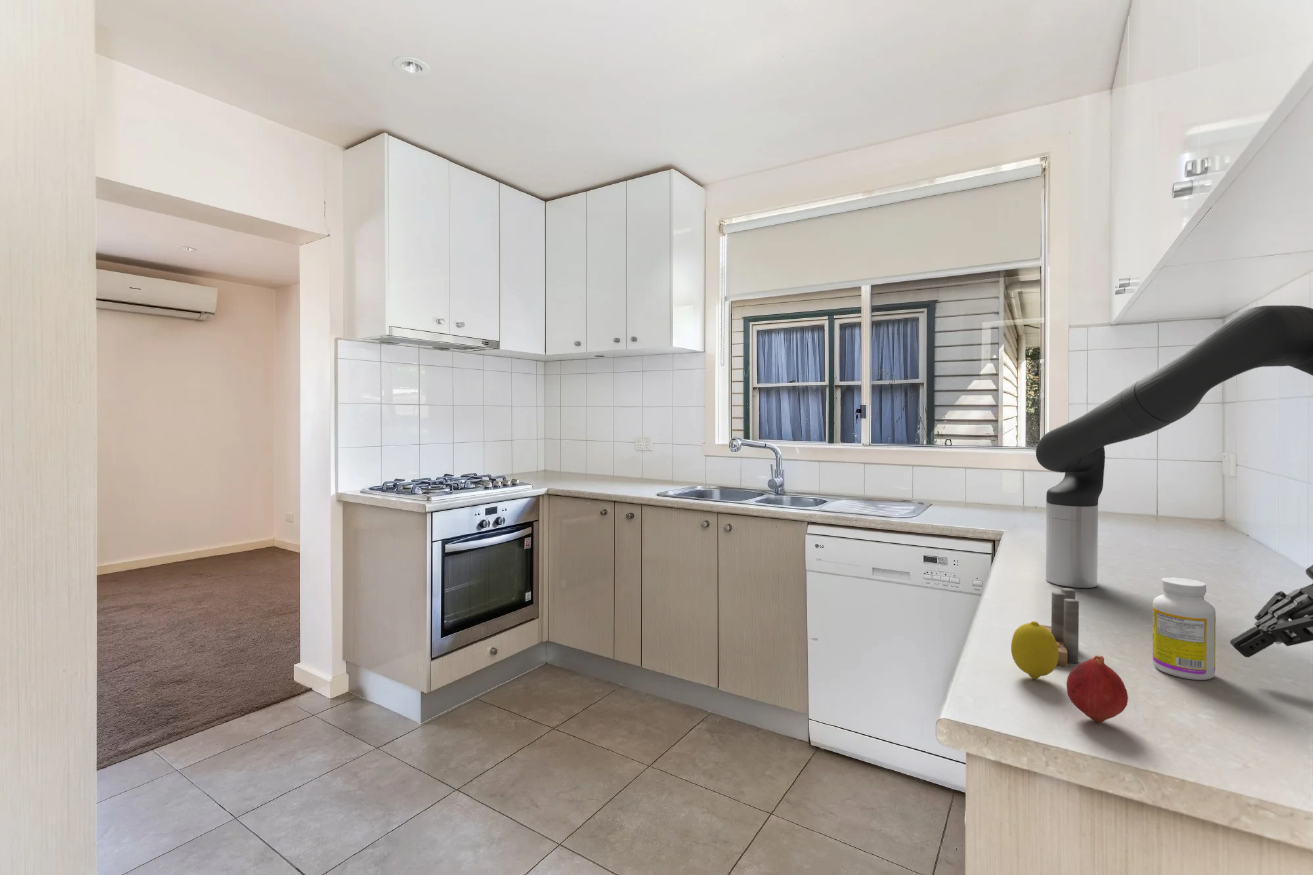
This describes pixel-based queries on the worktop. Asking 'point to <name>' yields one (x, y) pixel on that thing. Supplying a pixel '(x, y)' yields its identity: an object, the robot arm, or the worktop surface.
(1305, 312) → the robot arm
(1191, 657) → the supplement bottle
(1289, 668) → the worktop surface
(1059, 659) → the pin block
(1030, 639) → the lemon
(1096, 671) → the onion
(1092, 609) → the worktop surface
